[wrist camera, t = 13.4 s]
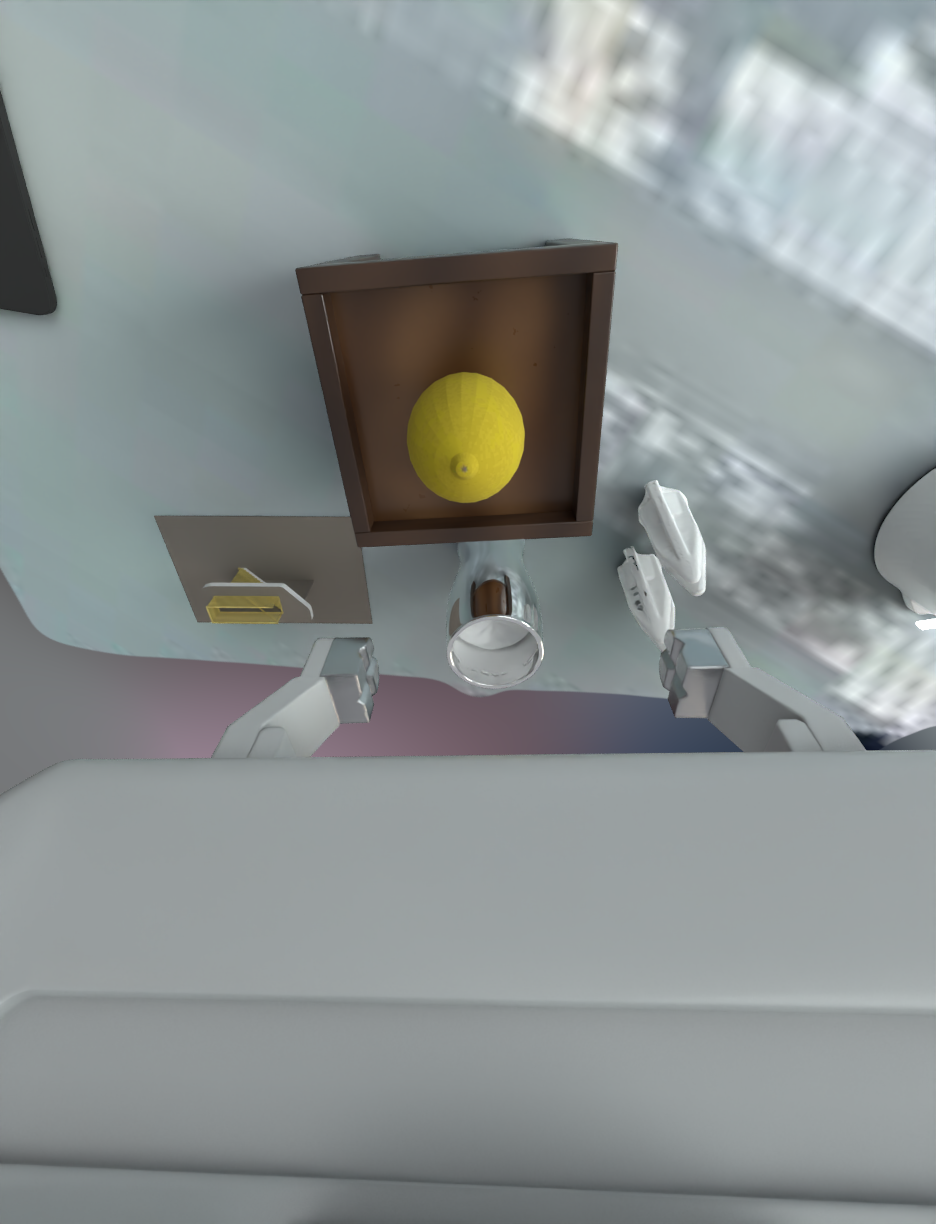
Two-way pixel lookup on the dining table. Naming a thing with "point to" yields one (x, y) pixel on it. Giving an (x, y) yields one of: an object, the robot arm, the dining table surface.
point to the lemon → (465, 437)
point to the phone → (20, 237)
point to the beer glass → (493, 616)
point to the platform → (269, 568)
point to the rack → (475, 343)
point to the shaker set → (663, 561)
